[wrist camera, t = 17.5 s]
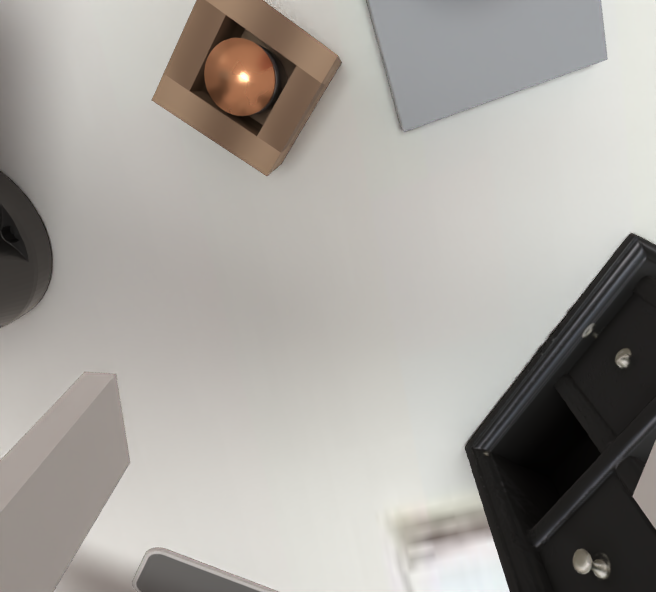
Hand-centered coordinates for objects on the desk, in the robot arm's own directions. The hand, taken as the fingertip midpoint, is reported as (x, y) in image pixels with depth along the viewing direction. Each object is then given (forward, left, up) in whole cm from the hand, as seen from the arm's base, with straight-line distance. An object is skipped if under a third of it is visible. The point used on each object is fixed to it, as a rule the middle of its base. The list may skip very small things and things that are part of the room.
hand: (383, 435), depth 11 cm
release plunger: (-11, +3, -24) cm, 27 cm away
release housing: (-11, +3, -26) cm, 29 cm away
